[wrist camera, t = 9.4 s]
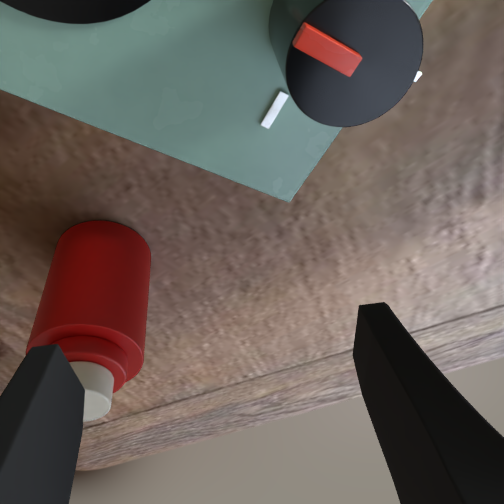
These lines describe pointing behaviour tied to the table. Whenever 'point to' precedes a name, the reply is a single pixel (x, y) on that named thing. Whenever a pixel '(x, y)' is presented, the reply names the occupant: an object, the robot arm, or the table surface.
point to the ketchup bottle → (97, 308)
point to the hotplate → (175, 85)
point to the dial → (346, 56)
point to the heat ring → (76, 9)
